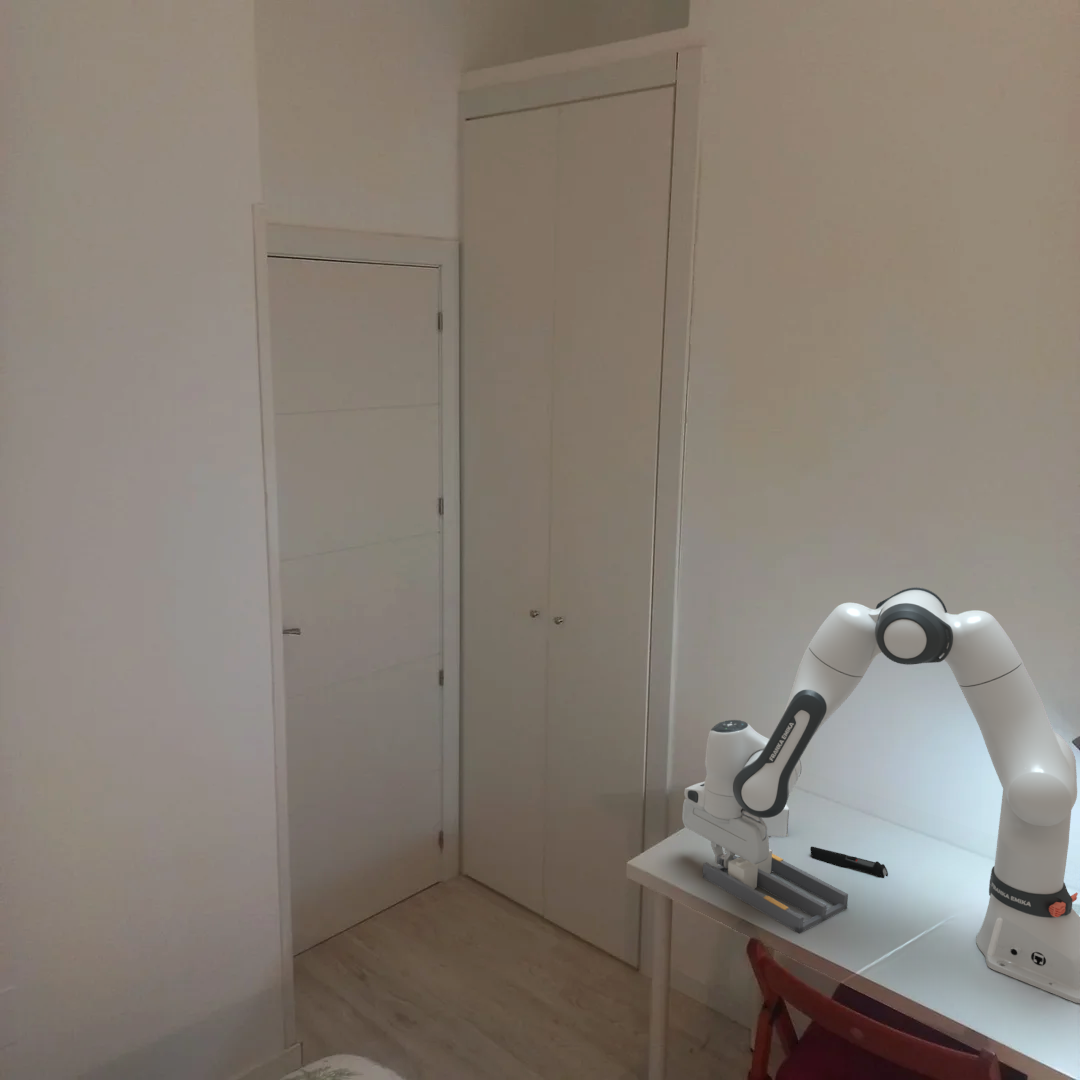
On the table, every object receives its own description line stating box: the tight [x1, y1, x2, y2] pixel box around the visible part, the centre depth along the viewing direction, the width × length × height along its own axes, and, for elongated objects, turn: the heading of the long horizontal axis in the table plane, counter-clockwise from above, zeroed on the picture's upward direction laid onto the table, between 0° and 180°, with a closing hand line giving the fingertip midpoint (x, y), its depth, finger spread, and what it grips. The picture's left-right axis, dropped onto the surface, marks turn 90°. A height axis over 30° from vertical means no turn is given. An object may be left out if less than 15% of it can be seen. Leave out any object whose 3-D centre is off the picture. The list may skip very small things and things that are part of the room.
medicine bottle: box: [762, 804, 790, 838], centre depth 224 cm, size 7×7×12 cm
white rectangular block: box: [758, 848, 773, 875], centre depth 206 cm, size 4×4×6 cm
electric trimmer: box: [809, 846, 889, 879], centre depth 210 cm, size 4×16×3 cm, turn 59°
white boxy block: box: [727, 856, 758, 890], centre depth 201 cm, size 4×4×6 cm
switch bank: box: [702, 853, 849, 934], centre depth 199 cm, size 24×14×4 cm, turn 37°
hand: (723, 864), depth 205 cm, fingers closed
